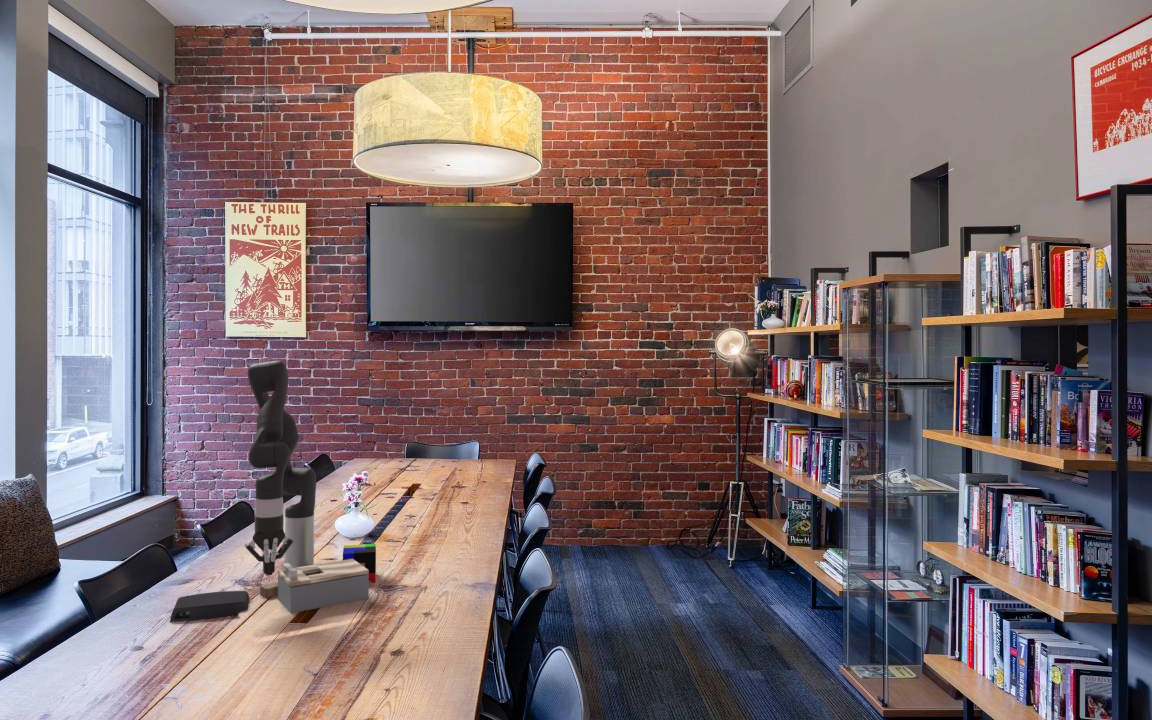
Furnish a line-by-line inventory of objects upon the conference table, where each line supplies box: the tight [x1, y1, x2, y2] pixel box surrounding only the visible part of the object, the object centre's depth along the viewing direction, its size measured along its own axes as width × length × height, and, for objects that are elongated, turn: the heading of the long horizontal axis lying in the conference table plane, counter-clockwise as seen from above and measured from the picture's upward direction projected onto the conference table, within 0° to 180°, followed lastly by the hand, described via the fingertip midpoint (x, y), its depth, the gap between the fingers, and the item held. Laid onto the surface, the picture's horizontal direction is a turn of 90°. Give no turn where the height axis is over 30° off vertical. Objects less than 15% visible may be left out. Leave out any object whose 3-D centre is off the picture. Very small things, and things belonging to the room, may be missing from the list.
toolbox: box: [277, 572, 370, 614], centre depth 218 cm, size 14×22×8 cm, turn 125°
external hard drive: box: [169, 590, 250, 623], centre depth 209 cm, size 13×19×4 cm
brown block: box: [259, 581, 278, 599], centre depth 224 cm, size 4×4×15 cm
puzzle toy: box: [342, 543, 377, 584], centre depth 239 cm, size 10×10×10 cm
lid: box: [277, 559, 369, 587], centre depth 217 cm, size 14×22×3 cm, turn 125°
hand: (268, 574), depth 210 cm, fingers closed
